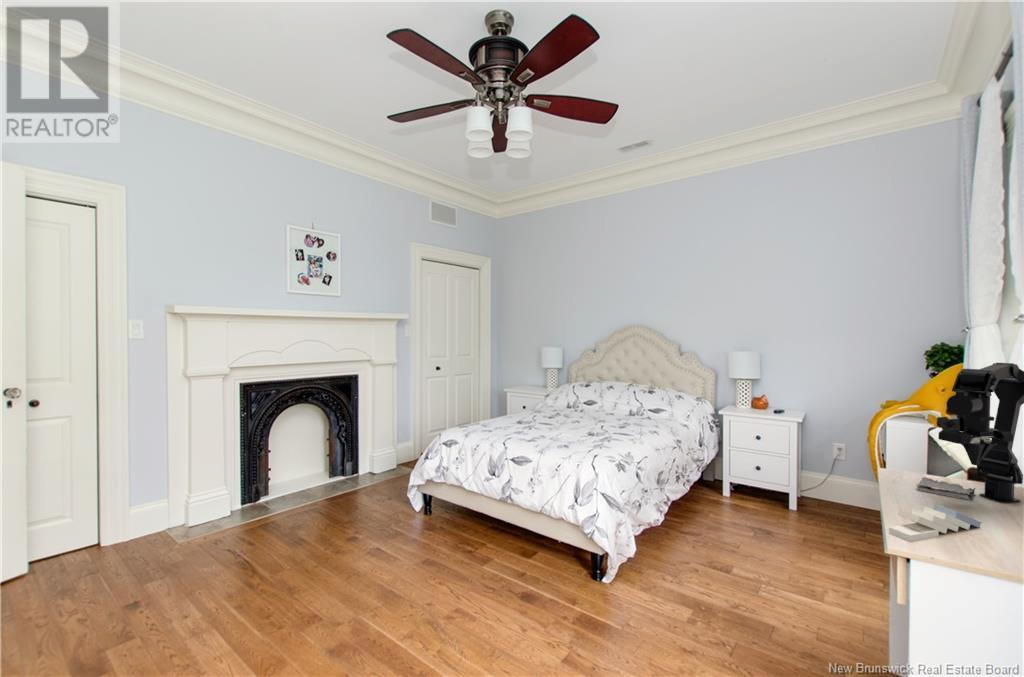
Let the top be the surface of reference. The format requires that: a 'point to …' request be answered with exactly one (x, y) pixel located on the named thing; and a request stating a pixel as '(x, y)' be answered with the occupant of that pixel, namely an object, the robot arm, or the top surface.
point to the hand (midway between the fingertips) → (974, 464)
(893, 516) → the top surface
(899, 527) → the domino
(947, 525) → the domino
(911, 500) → the top surface
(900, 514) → the domino
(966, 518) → the domino
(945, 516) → the domino
